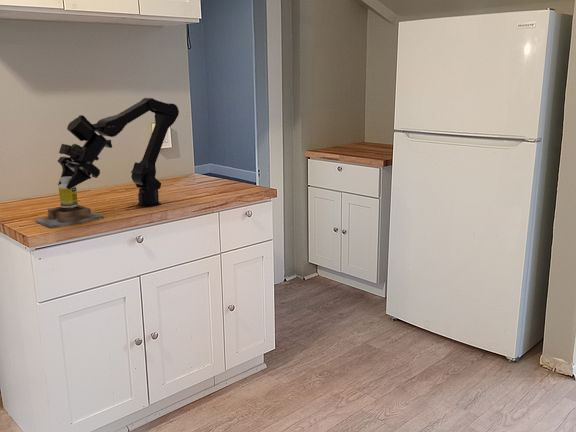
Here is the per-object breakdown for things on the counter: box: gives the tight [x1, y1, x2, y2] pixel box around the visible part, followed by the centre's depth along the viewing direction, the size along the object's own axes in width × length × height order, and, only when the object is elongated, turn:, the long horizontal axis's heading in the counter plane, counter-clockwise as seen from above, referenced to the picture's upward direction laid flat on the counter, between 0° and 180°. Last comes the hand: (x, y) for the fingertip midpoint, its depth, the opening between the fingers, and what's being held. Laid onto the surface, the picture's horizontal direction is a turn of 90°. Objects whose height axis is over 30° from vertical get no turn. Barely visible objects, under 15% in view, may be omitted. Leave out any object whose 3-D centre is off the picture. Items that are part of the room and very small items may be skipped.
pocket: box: [34, 204, 105, 229], centre depth 186 cm, size 18×12×4 cm, turn 136°
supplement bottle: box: [58, 176, 79, 208], centre depth 184 cm, size 5×5×10 cm
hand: (63, 187), depth 183 cm, fingers closed on supplement bottle, 5 cm apart
